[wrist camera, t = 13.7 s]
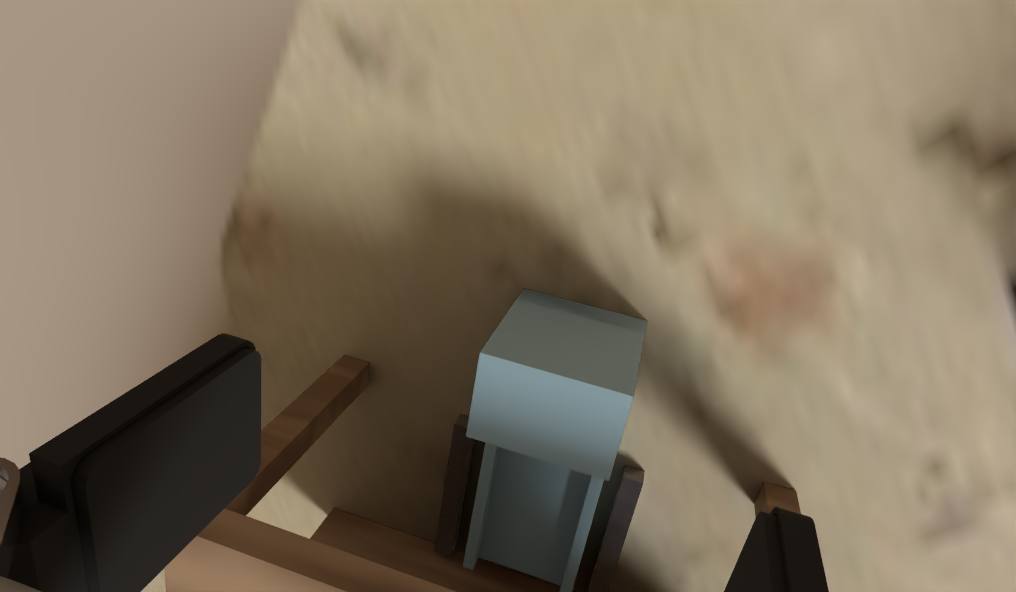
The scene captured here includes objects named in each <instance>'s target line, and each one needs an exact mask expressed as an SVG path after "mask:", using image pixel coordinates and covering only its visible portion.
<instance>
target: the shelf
mask: <svg viewBox="0 0 1016 592" xmlns="http://www.w3.org/2000/svg"><path fill="white" fill-rule="evenodd" d="M368 371H369V362H365V361H362V360H359V359H355V358H352V357H349V356H345V355H344V356H343V357H342V358H341V359H339V360H338V361H337V362H336V363H335V364H334V365H333V366H332V367H331V368H330V369H328V370H327V371H326V372H325V373H324V374H323V375H322V376H321V377H320V378H319V379H318V380H316V381H315V382H314V383H313V384H312V385H311V386H310V387H309V388H308V389H307V390H306V391H304V392H303V393H302V394H301V395H300V396H299V397H298V398H297V399H296V400H295V401H293V402H292V403H291V404H290V405H289V406H288V407H287V408H286V409H285V410H284V411H283V412H281V413H280V414H279V415H278V416H277V417H276V418H275V419H274V420H273V421H272V422H270V423H269V424H268V425H267V426H266V427H265V428H264V429H263V430H262V431H261V464H260V468H259V471H258V473H257V475H256V476H255V478H254V479H253V480H252V482H251V483H250V484H249V485H248V486H247V487H246V488H244V489H243V490H242V491H241V492H240V493H239V494H238V495H237V496H236V497H235V498H234V499H233V500H232V501H231V502H230V503H229V504H228V505H227V506H226V507H225V508H224V509H223V510H222V511H221V512H220V513H219V514H218V515H217V516H216V517H215V518H214V519H213V520H212V521H211V522H210V523H209V524H208V525H207V526H206V527H205V528H204V529H203V530H202V531H201V532H200V533H199V534H198V535H197V536H196V537H195V538H194V539H193V540H192V541H191V542H190V543H189V544H188V545H187V546H186V547H185V548H184V549H183V550H182V551H181V552H180V553H179V554H178V555H177V556H176V557H175V558H174V559H173V560H172V561H171V562H170V563H169V564H168V565H167V566H166V567H165V568H164V570H165V583H166V592H560V588H561V587H560V586H557V585H554V584H551V583H548V582H545V581H542V580H539V579H537V578H534V577H531V576H528V575H525V574H522V573H519V572H516V571H513V570H511V569H508V568H505V567H502V566H499V565H496V564H493V563H490V562H488V561H485V560H482V559H479V558H478V559H477V562H476V564H475V566H474V569H473V570H471V569H468V568H465V567H463V562H464V556H465V553H462V552H459V551H456V550H453V549H454V547H455V545H456V542H457V536H458V531H459V525H460V519H461V514H462V508H463V502H464V497H465V491H466V486H467V480H468V474H469V469H470V463H471V458H472V452H473V446H474V441H475V439H473V438H469V437H466V432H467V426H468V420H469V417H467V416H464V415H460V416H459V418H458V420H457V421H456V423H455V424H454V430H453V436H452V443H451V449H450V455H449V461H448V468H447V474H446V480H445V486H444V493H443V499H442V505H441V511H440V518H439V524H438V530H437V536H436V543H433V542H430V541H427V540H424V539H421V538H418V537H416V536H413V535H410V534H407V533H404V532H401V531H398V530H395V529H393V528H390V527H387V526H384V525H381V524H378V523H375V522H372V521H370V520H367V519H364V518H361V517H358V516H355V515H352V514H349V513H346V512H344V511H341V510H338V509H335V508H333V509H332V511H331V512H330V513H329V515H328V516H327V517H326V519H325V520H324V521H323V522H322V524H321V525H320V526H319V528H318V529H317V530H316V532H315V533H314V534H313V536H312V537H311V538H310V539H308V538H306V537H303V536H300V535H297V534H295V533H292V532H289V531H286V530H283V529H281V528H278V527H275V526H272V525H270V524H267V523H264V522H261V521H258V520H256V519H253V518H250V517H247V516H246V515H247V514H248V513H249V512H250V511H251V510H252V508H253V507H254V506H255V505H256V504H257V503H258V502H259V501H260V500H261V499H262V498H263V497H264V496H265V495H266V494H267V492H268V491H269V490H270V489H271V488H272V487H273V486H274V485H275V484H276V483H277V482H278V481H279V480H280V479H281V477H282V476H283V475H284V474H285V473H286V472H287V471H288V470H289V469H290V468H291V467H292V466H293V465H294V464H295V463H296V461H297V460H298V459H299V458H300V457H301V456H302V455H303V454H304V453H305V452H306V451H307V450H308V449H309V448H310V446H311V445H312V444H313V443H314V442H315V441H316V440H317V439H318V438H319V437H320V436H321V435H322V434H323V433H324V432H325V430H326V429H327V428H328V427H329V426H330V425H331V424H332V423H333V422H334V421H335V420H336V419H337V418H338V417H339V415H340V414H341V413H342V412H343V411H344V410H345V409H346V408H347V407H348V406H349V405H350V404H351V403H352V402H353V401H354V399H355V398H356V397H357V396H358V395H359V394H360V393H361V392H362V391H363V390H364V389H365V388H366V387H367V382H368ZM644 472H645V471H642V470H639V469H636V468H633V467H629V466H626V465H625V468H624V471H623V474H622V478H621V481H620V484H619V488H618V491H617V494H616V497H615V501H614V504H613V507H612V511H611V514H610V517H609V520H608V524H607V527H606V530H605V534H604V537H603V540H602V543H601V547H600V550H599V553H598V557H597V560H596V563H595V566H594V570H593V573H592V576H591V580H590V583H589V586H588V589H587V592H608V590H609V587H610V584H611V581H612V578H613V575H614V572H615V568H616V565H617V562H618V559H619V556H620V553H621V550H622V547H623V544H624V541H625V538H626V535H627V531H628V528H629V525H630V522H631V519H632V516H633V513H634V510H635V507H636V504H637V501H638V497H639V494H640V491H641V488H642V485H643V480H644ZM754 506H755V515H756V517H757V515H758V513H759V512H761V511H762V512H765V513H769V514H770V512H771V511H772V509H773V508H774V507H779V508H782V509H786V510H789V511H792V512H795V513H798V514H801V512H800V507H799V502H798V498H797V493H796V491H795V490H791V489H788V488H785V487H781V486H778V485H775V484H771V483H768V482H765V481H764V483H763V486H762V488H761V490H760V493H759V495H758V497H757V500H756V502H755V505H754ZM572 592H574V591H572Z"/></svg>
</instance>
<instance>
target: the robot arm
mask: <svg viewBox="0 0 1016 592" xmlns="http://www.w3.org/2000/svg"><path fill="white" fill-rule="evenodd" d="M29 456H30V461H31V462H30V463H28V464H27V465H25V466H24V467H23V468H21V469H18V467H17V466H16V464H15V463H13V462H11V461H9V460H7V459H5V458H0V592H141V591H142V590H143V589H144V588H145V587H146V586H147V585H148V584H149V583H150V582H151V581H152V580H153V579H154V578H155V577H156V576H157V575H158V574H159V573H160V572H161V571H162V570H163V569H164V568H165V567H166V566H167V565H168V564H169V563H170V562H171V561H172V560H173V559H174V558H175V557H176V556H177V555H178V554H179V553H180V552H181V551H182V550H183V549H184V548H185V547H186V546H187V545H188V544H189V543H190V542H191V541H192V540H193V539H194V538H195V537H196V536H197V535H198V534H199V533H200V532H201V531H202V530H203V529H204V528H205V527H206V526H207V525H208V524H209V523H210V522H211V521H212V520H213V519H214V518H215V517H216V516H217V515H218V514H219V513H220V512H221V511H222V510H223V509H224V508H225V507H226V506H227V505H228V504H229V503H230V502H231V501H232V500H233V499H234V498H235V497H236V496H237V495H238V494H239V493H240V492H241V491H242V490H243V489H244V488H246V487H247V486H248V485H249V484H250V483H251V482H252V480H253V479H254V478H255V476H256V475H257V473H258V471H259V468H260V464H261V356H260V354H259V352H257V351H255V346H254V344H253V343H252V342H250V341H248V340H244V339H241V338H238V337H235V336H232V335H228V334H220V335H217V336H216V337H214V338H213V339H211V340H209V341H208V342H206V343H205V344H203V345H201V346H200V347H198V348H197V349H195V350H193V351H192V352H190V353H189V354H187V355H185V356H184V357H182V358H181V359H179V360H177V361H176V362H174V363H173V364H171V365H169V366H168V367H166V368H165V369H163V370H162V371H160V372H159V373H157V374H155V375H154V376H152V377H150V378H149V379H147V380H146V381H144V382H143V383H141V384H139V385H138V386H136V387H134V388H133V389H131V390H130V391H128V392H126V393H125V394H123V395H122V396H120V397H118V398H117V399H115V400H114V401H112V402H110V403H109V404H107V405H106V406H104V407H102V408H101V409H99V410H98V411H96V412H95V413H93V414H91V415H90V416H88V417H87V418H85V419H83V420H82V421H80V422H79V423H77V424H75V425H74V426H72V427H71V428H69V429H67V430H66V431H64V432H63V433H61V434H60V435H58V436H56V437H55V438H53V439H52V440H50V441H48V442H47V443H45V444H44V445H42V446H40V447H39V448H37V449H36V450H34V451H32V452H31V453H29ZM724 592H829V591H828V586H827V582H826V577H825V572H824V567H823V562H822V558H821V553H820V548H819V543H818V539H817V534H816V529H815V524H814V521H813V519H812V518H811V517H808V516H805V515H802V514H798V513H795V512H792V511H789V510H786V509H782V508H779V507H774V508H773V509H772V511H771V512H770V514H769V513H765V512H762V511H761V512H759V513H758V515H757V517H756V519H755V521H754V524H753V526H752V528H751V531H750V533H749V535H748V538H747V540H746V542H745V544H744V547H743V549H742V551H741V554H740V556H739V558H738V561H737V563H736V565H735V568H734V570H733V572H732V574H731V577H730V579H729V581H728V584H727V586H726V588H725V591H724Z"/></svg>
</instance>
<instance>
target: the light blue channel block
mask: <svg viewBox="0 0 1016 592" xmlns="http://www.w3.org/2000/svg"><path fill="white" fill-rule="evenodd" d="M646 326H647V321H646V320H642V319H638V318H635V317H631V316H627V315H623V314H619V313H616V312H612V311H608V310H604V309H601V308H597V307H593V306H589V305H585V304H582V303H578V302H574V301H570V300H566V299H563V298H559V297H555V296H551V295H548V294H544V293H540V292H536V291H532V290H529V289H525V288H524V289H523V290H522V292H521V293H520V295H519V296H518V298H517V299H516V300H515V302H514V303H513V305H512V306H511V308H510V309H509V311H508V312H507V314H506V315H505V317H504V318H503V319H502V321H501V322H500V324H499V325H498V327H497V328H496V330H495V331H494V333H493V334H492V335H491V337H490V338H489V340H488V341H487V343H486V344H485V346H484V347H483V349H482V350H481V352H480V355H479V361H478V367H477V372H476V378H475V384H474V390H473V396H472V402H471V408H470V414H469V420H468V426H467V432H466V437H469V438H473V439H476V440H479V441H482V442H485V448H484V453H483V459H482V464H481V470H480V475H479V480H478V486H477V491H476V497H475V502H474V507H473V513H472V518H471V524H470V529H469V535H468V540H467V545H466V551H465V556H464V562H463V567H465V568H468V569H471V570H473V569H474V566H475V564H476V562H477V559H478V557H480V558H483V559H486V560H488V561H491V562H494V563H497V564H500V565H503V566H506V567H509V568H512V569H514V570H517V571H520V572H523V573H526V574H529V575H532V576H535V577H537V578H540V579H543V580H546V581H549V582H552V583H555V584H558V585H561V588H560V592H572V589H573V586H574V582H575V579H576V575H577V572H578V568H579V565H580V561H581V558H582V555H583V551H584V548H585V544H586V541H587V537H588V534H589V530H590V527H591V523H592V520H593V516H594V513H595V509H596V506H597V503H598V499H599V496H600V492H601V489H602V485H603V482H604V480H607V481H609V479H610V476H611V472H612V469H613V466H614V462H615V459H616V455H617V452H618V448H619V445H620V442H621V438H622V435H623V431H624V428H625V425H626V421H627V418H628V414H629V411H630V407H631V404H632V401H633V397H634V392H635V387H636V381H637V376H638V370H639V365H640V359H641V354H642V348H643V343H644V337H645V331H646Z"/></svg>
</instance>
